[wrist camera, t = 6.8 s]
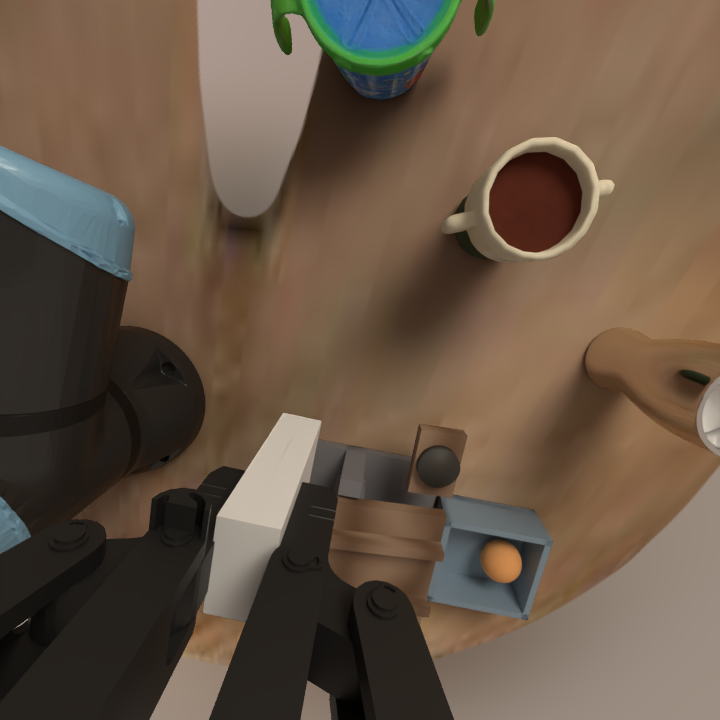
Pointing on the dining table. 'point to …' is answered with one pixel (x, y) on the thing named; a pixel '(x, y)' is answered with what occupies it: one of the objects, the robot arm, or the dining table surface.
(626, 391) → the beer glass
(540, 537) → the cup
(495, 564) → the ball
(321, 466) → the lever base
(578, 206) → the character mug
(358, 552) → the tilt lever
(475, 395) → the dining table surface
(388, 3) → the snack cup
